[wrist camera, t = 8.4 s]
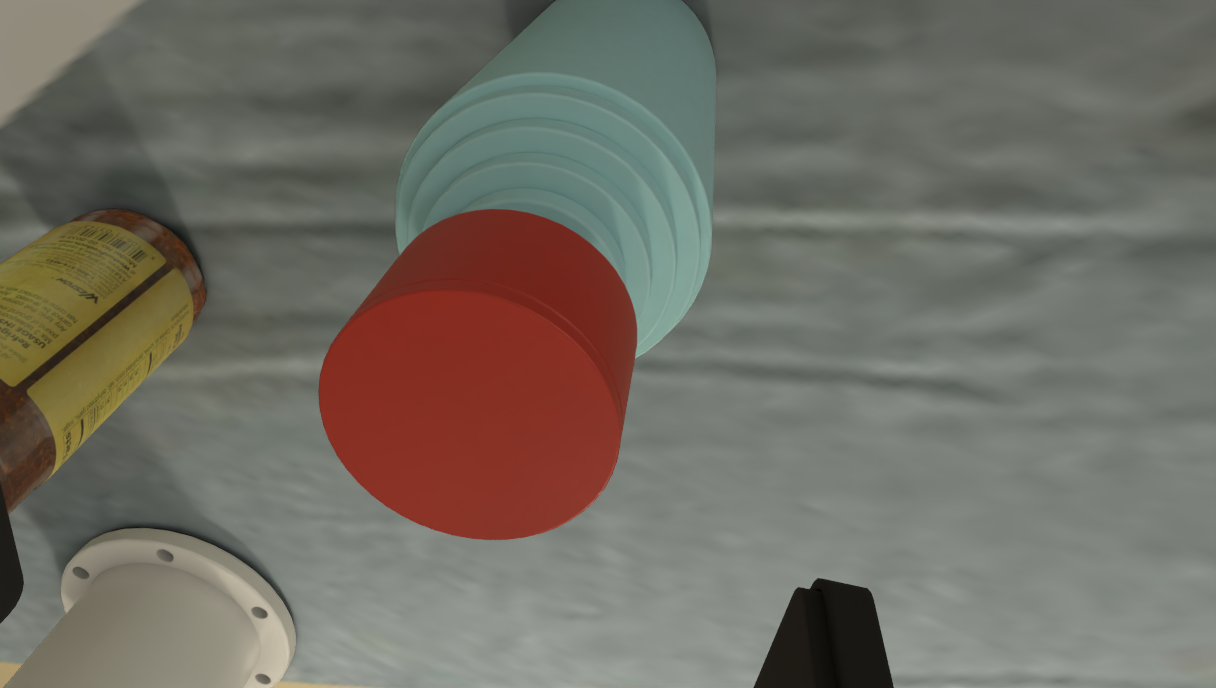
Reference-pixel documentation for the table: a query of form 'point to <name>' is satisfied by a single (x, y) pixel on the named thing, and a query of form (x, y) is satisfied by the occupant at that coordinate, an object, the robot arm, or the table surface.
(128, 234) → the sauce bottle
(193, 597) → the robot arm
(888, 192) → the table surface
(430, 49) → the table surface
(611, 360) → the cap
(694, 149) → the water bottle
